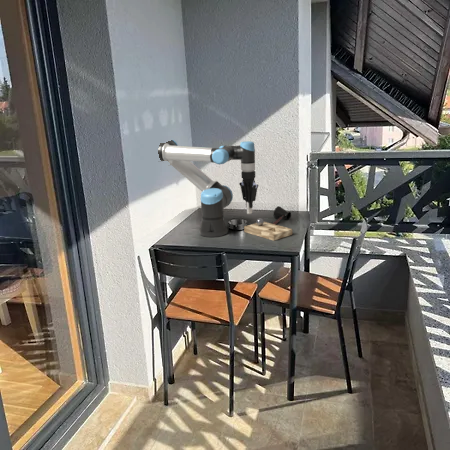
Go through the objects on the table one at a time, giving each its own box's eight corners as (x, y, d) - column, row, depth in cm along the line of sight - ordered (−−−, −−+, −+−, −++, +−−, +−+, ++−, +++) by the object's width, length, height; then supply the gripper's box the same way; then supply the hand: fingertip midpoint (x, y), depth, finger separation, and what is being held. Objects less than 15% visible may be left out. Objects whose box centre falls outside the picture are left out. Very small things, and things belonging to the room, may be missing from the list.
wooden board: (273, 240, 221) (273, 235, 220) (244, 231, 237) (244, 226, 236) (292, 234, 229) (292, 229, 229) (262, 226, 246) (262, 221, 245)
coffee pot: (279, 215, 266) (291, 219, 261) (262, 226, 253) (274, 230, 249) (280, 204, 262) (292, 208, 257) (263, 214, 250) (275, 218, 245)
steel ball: (259, 227, 234) (259, 219, 233) (254, 225, 237) (254, 218, 236) (265, 225, 237) (265, 218, 236) (260, 224, 240) (259, 217, 239)
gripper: (261, 170, 233) (262, 213, 239) (245, 168, 242) (246, 210, 249) (251, 172, 228) (252, 216, 235) (235, 170, 238) (236, 212, 244)
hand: (249, 213), depth 242 cm, fingers closed
